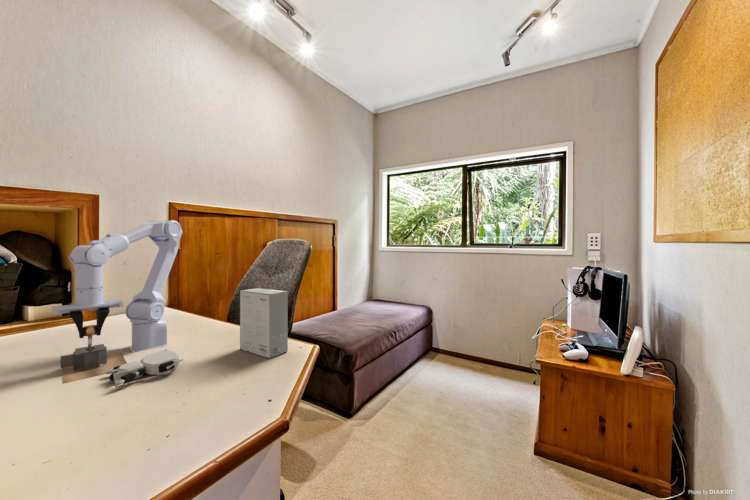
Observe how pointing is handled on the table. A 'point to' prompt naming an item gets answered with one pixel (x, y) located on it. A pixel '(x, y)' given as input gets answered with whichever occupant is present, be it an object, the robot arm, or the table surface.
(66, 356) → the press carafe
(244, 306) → the hard drive box
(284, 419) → the table surface
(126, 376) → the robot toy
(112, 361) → the walnut board
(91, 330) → the plunger
